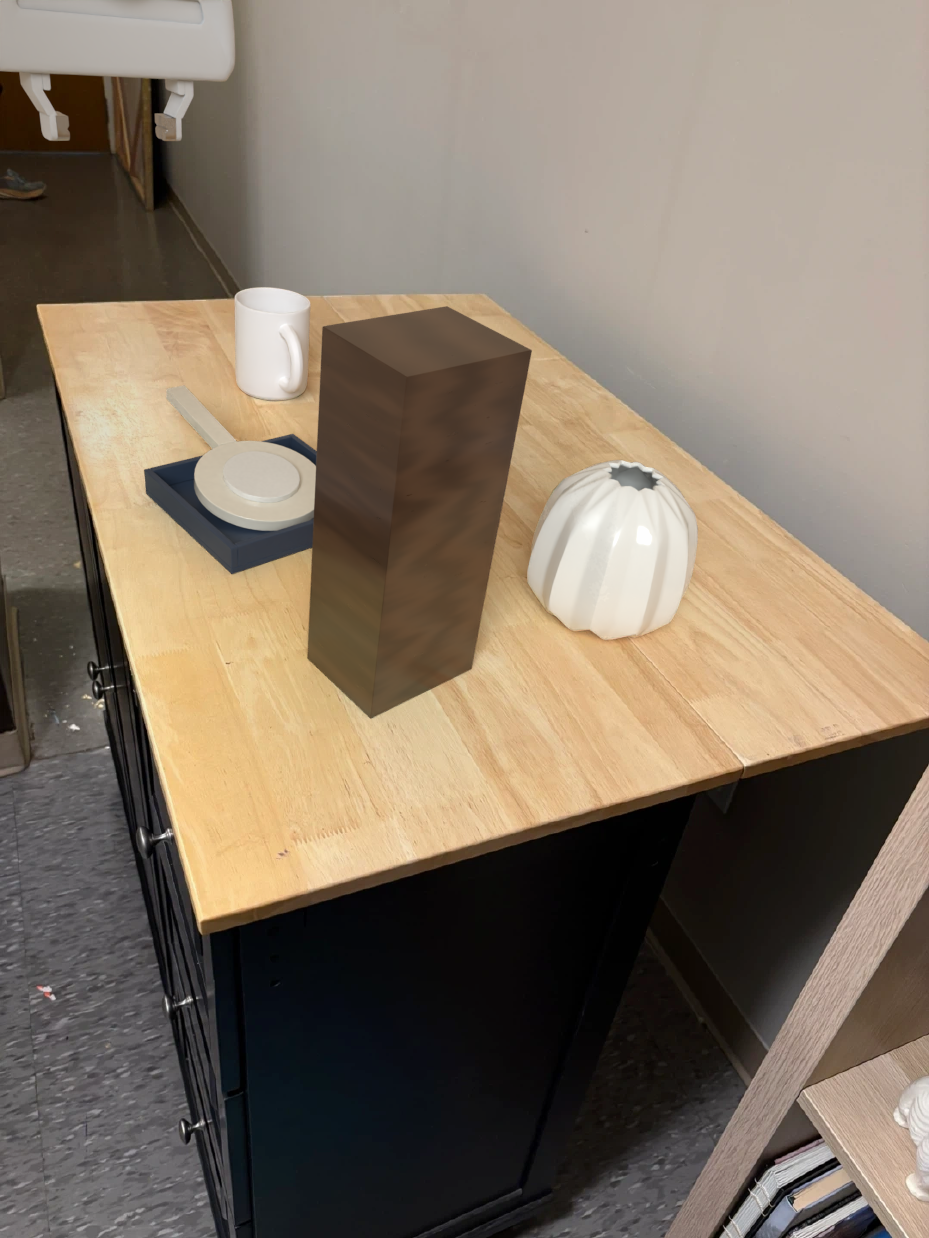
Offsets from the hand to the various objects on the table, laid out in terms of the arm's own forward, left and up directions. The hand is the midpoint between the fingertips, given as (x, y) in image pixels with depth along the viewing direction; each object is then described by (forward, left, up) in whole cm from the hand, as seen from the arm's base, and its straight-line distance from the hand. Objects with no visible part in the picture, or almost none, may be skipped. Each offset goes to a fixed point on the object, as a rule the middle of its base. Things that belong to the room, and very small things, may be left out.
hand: (114, 139), depth 73 cm
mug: (+20, +7, -29) cm, 36 cm away
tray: (+5, -14, -29) cm, 32 cm away
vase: (+21, -42, -29) cm, 55 cm away
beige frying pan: (+5, -8, -26) cm, 28 cm away
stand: (+1, -38, -29) cm, 48 cm away
